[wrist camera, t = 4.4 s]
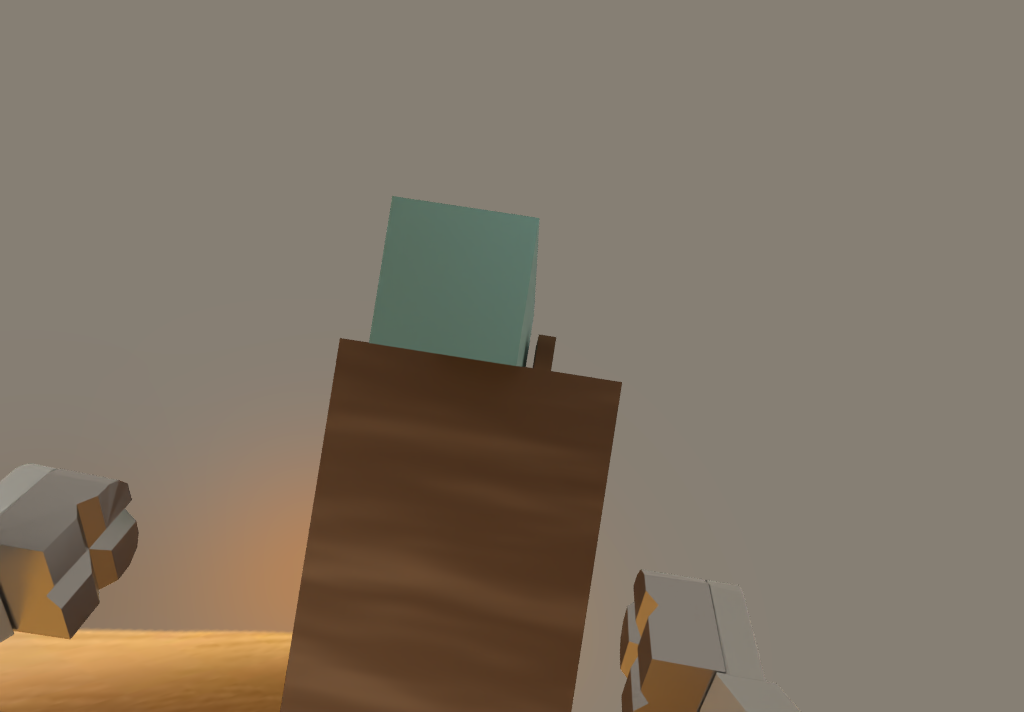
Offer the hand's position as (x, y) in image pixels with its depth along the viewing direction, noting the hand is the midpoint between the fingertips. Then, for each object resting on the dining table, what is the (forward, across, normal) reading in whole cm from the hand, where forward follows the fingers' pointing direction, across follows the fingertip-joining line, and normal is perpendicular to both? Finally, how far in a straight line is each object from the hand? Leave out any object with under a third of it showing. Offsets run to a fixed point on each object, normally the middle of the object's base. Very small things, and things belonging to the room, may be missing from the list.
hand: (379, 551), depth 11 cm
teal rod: (+14, 0, +5) cm, 15 cm away
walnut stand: (+6, 0, +30) cm, 30 cm away
